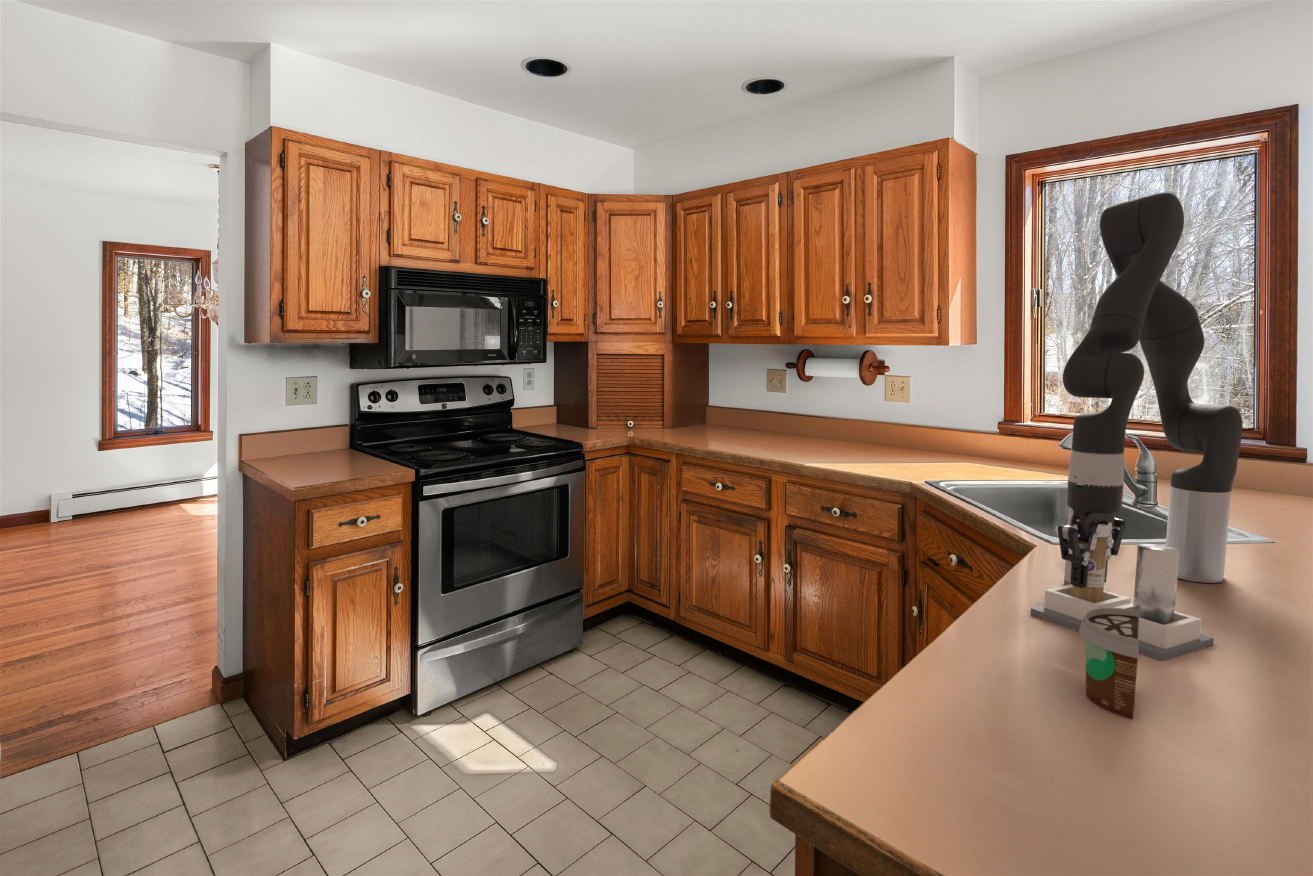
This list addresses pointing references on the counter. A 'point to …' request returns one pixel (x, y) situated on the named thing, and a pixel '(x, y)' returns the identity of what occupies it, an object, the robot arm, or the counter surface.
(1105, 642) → the food container
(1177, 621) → the grey and white holder
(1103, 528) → the sprinkles bottle
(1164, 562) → the cylinder
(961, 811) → the counter surface
